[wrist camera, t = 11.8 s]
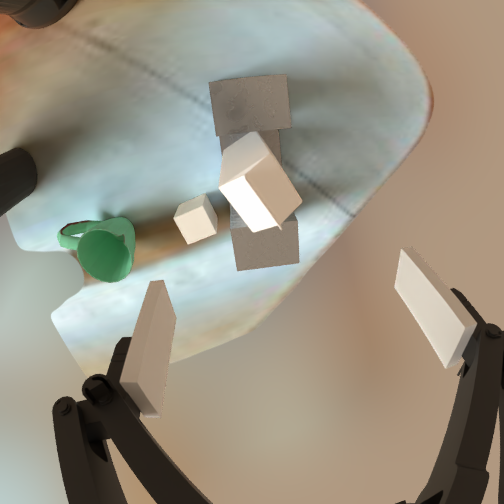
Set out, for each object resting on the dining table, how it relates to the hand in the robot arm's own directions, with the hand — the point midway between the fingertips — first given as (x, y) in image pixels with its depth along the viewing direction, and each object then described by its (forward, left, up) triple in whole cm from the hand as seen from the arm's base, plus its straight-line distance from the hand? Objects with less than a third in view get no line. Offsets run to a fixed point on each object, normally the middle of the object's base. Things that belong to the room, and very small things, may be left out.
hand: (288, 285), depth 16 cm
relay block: (+9, -10, -36) cm, 38 cm away
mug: (+9, -27, -36) cm, 46 cm away
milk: (0, 0, -34) cm, 34 cm away
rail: (0, 0, -36) cm, 36 cm away
